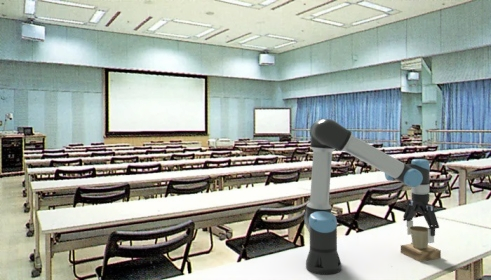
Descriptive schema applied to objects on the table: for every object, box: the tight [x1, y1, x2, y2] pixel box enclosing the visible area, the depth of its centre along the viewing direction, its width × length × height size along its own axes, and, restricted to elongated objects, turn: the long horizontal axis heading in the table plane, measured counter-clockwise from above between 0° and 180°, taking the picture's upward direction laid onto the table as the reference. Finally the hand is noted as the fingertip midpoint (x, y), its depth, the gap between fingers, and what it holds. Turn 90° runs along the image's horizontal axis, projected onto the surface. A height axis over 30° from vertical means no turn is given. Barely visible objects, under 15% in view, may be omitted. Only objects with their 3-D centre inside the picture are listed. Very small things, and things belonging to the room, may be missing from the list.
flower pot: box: [409, 225, 429, 249], centre depth 177 cm, size 9×9×9 cm
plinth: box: [400, 243, 442, 262], centre depth 177 cm, size 12×12×4 cm
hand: (420, 238), depth 177 cm, fingers open, 12 cm apart
